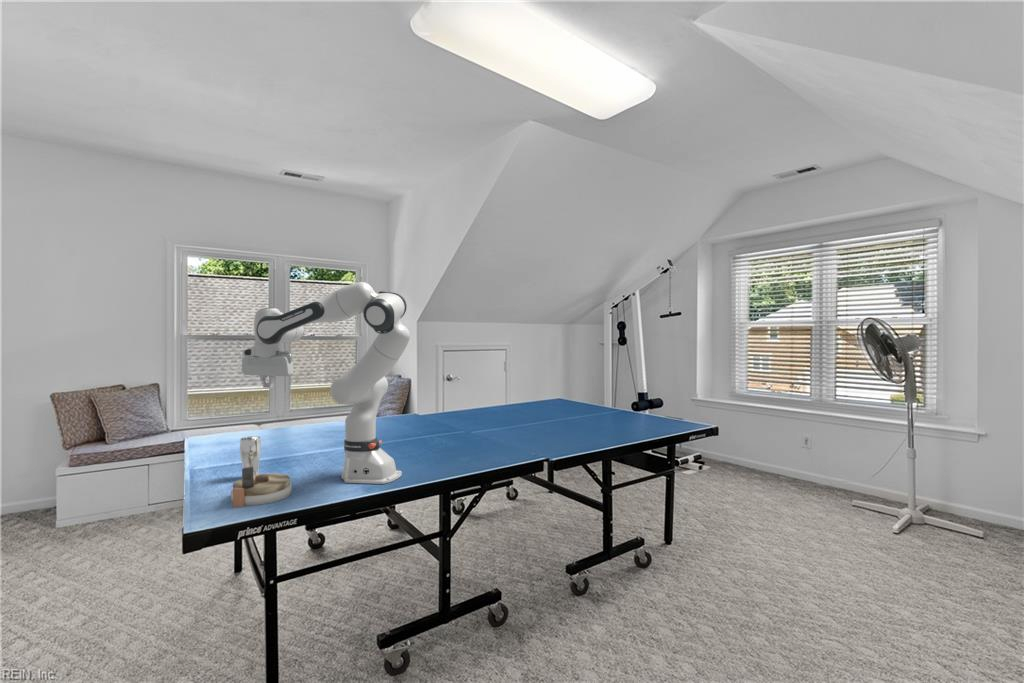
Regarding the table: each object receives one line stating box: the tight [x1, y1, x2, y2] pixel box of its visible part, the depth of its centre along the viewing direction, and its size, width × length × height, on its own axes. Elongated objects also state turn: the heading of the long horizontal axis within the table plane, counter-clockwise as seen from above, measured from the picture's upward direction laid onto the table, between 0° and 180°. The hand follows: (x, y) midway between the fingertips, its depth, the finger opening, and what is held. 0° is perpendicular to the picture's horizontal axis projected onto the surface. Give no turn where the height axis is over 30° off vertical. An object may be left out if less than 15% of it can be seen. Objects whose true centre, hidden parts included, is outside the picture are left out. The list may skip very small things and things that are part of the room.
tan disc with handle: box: [232, 467, 291, 496], centre depth 167 cm, size 17×17×8 cm
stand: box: [230, 481, 292, 508], centre depth 166 cm, size 18×20×6 cm
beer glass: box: [239, 435, 262, 476], centre depth 186 cm, size 7×7×15 cm
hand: (267, 387), depth 188 cm, fingers closed
